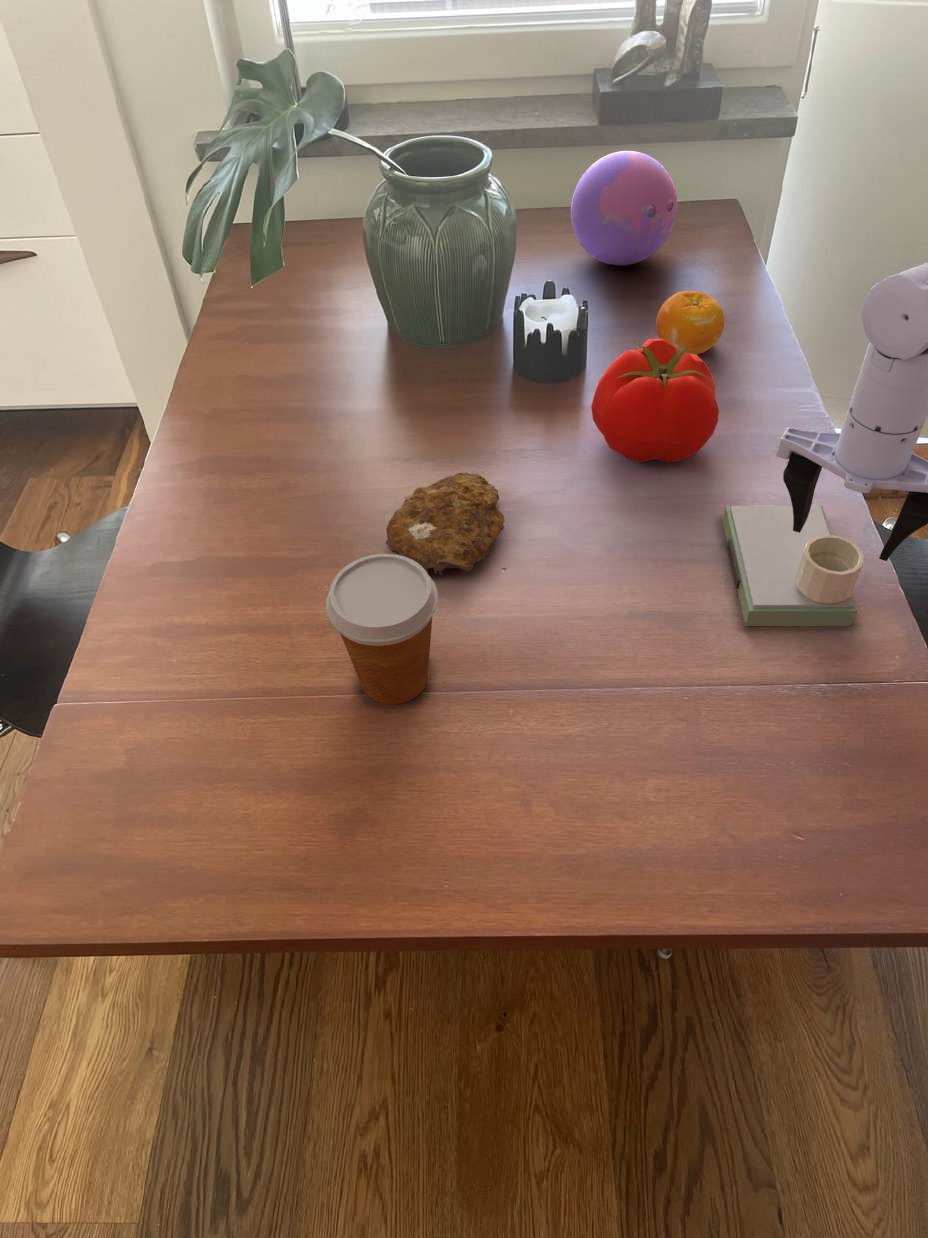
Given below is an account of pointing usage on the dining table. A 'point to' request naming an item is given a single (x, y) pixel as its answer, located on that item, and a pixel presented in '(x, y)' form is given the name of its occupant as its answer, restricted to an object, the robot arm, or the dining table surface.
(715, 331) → the fruit
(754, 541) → the scale
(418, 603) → the disposable coffee cup
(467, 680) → the dining table surface
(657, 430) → the tomato
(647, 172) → the decorative ball
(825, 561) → the small beige cup
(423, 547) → the decorative rock
